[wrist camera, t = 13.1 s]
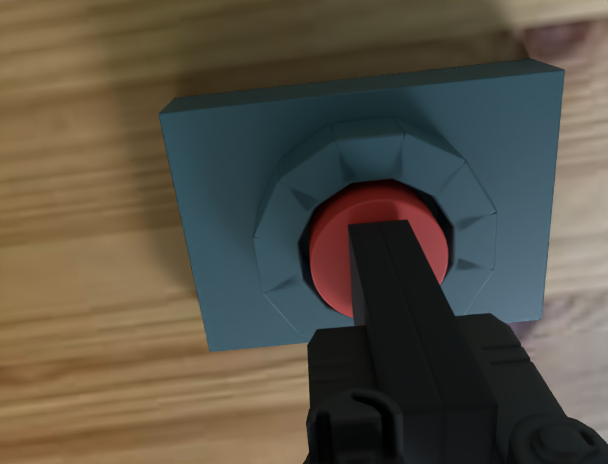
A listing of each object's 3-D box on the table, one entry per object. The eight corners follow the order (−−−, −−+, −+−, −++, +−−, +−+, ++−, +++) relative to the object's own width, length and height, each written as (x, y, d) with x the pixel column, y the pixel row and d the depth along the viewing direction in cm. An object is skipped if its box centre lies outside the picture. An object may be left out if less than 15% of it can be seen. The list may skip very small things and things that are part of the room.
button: (433, 169, 15) (449, 192, 13) (433, 283, 17) (449, 315, 15) (302, 183, 15) (303, 207, 14) (314, 295, 17) (317, 328, 15)
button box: (532, 58, 17) (600, 80, 13) (517, 286, 20) (567, 354, 16) (173, 97, 17) (141, 129, 13) (217, 315, 20) (201, 389, 17)
